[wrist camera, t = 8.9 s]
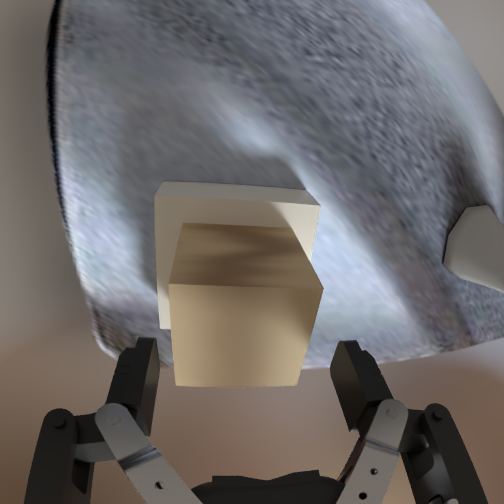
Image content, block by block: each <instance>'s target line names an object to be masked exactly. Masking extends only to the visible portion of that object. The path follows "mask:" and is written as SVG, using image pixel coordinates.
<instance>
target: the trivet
mask: <svg viewBox="0 0 504 504" xmlns="http://www.w3.org/2000/svg"><path fill="white" fill-rule="evenodd" d="M320 208H321V205H320V204H319V203H318V202H317V201H316V200H315V198H314V197H313V196H312V195H311V194H310V193H309V192H308V191H307V190H300V189H289V188H277V187H265V186H251V185H237V184H220V183H201V182H176V181H163V182H162V184H161V185H160V187H159V189H158V190H157V192H156V193H155V195H154V225H155V256H156V277H157V293H158V307H159V319H160V329H171V323H170V306H169V287H168V283H169V279H170V274H171V270H172V265H173V261H174V257H175V252H176V248H177V244H178V240H179V236H180V232H181V228H182V224H183V223H201V224H223V225H243V226H262V227H279V228H292V229H293V231H294V233H295V235H296V237H297V238H298V240H299V242H300V244H301V246H302V248H303V250H304V252H305V253H306V255H307V257H308V259H309V261H310V259H311V254H312V249H313V244H314V239H315V234H316V229H317V224H318V219H319V214H320Z"/></svg>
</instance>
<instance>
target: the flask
mask: <svg viewBox="0 0 504 504" xmlns="http://www.w3.org/2000/svg"><path fill="white" fill-rule="evenodd" d="M443 266H444V267H446V268H447V269H448V270H450V271H451V272H452V273H453V274H455V275H456V276H457V277H459V278H462V279H465V280H468V281H471V282H474V283H478V284H481V285H484V286H487V287H490V288H492V289H495V290H498V291H501V292H503V293H504V225H503V224H502V222H501V221H500V220H499V218H498V217H497V216H496V215H495V213H494V212H493V211H492V210H491V208H490V207H489V206H488V205H483V206H475V207H468V208H466V209H465V211H464V212H463V214H462V215H461V217H460V218H459V220H458V222H457V223H456V225H455V226H454V228H453V229H452V231H451V232H450V234H449V235H448V241H447V247H446V253H445V258H444V264H443Z"/></svg>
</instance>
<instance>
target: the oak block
mask: <svg viewBox="0 0 504 504" xmlns="http://www.w3.org/2000/svg"><path fill="white" fill-rule="evenodd" d="M168 287H169V306H170V323H171V337H172V349H173V361H174V371H175V380H176V386H197V387H272V386H292V385H293V386H294V385H296V384H297V381H298V378H299V375H300V371H301V368H302V365H303V361H304V358H305V355H306V351H307V348H308V344H309V341H310V337H311V334H312V330H313V326H314V323H315V319H316V315H317V312H318V308H319V304H320V300H321V296H322V293H323V289H324V288H323V286H322V284H321V282H320V280H319V278H318V276H317V274H316V273H315V271H314V269H313V267H312V265H311V263H310V261H309V259H308V257H307V255H306V253H305V252H304V250H303V248H302V246H301V244H300V242H299V240H298V238H297V237H296V235H295V233H294V231H293V229H292V228H279V227H262V226H243V225H223V224H201V223H183V224H182V228H181V232H180V236H179V240H178V244H177V248H176V252H175V257H174V261H173V265H172V270H171V274H170V279H169V283H168Z"/></svg>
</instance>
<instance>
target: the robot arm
mask: <svg viewBox="0 0 504 504" xmlns="http://www.w3.org/2000/svg"><path fill="white" fill-rule="evenodd" d="M114 373H115V374H114V376H113V379H112V382H111V386H110V389H109V393H108V397H107V400H106V403H105V405H103V406H102V407H100V408H99V409H98V410H97V412H95V413H92V414H87V415H80V416H73V414H72V413H71V412H70V411H68V410H66V409H61V408H59V409H54V410H52V411H50V412H48V414H47V415H46V416H45V418H44V420H43V423H42V427H41V430H40V434H39V438H38V441H37V446H36V449H35V453H34V457H33V462H32V466H31V470H30V474H29V479H28V484H27V489H26V494H25V500H24V504H90V499H91V489H92V480H93V472H94V465H95V462H99V461H107V460H115V459H116V460H117V462H118V464H119V465H120V467H121V468H122V470H123V472H124V473H125V475H126V476H127V478H128V479H129V481H130V482H131V484H132V485H133V487H134V488H135V489H136V491H137V492H138V494H139V495H140V497H141V498H142V499H143V501H144V502H145V504H381V503H382V501H383V498H384V495H385V493H386V491H387V488H388V486H389V483H390V480H391V478H392V475H393V473H394V470H395V467H396V464H397V462H398V458H399V455H400V454H401V457H402V460H403V463H404V466H405V469H406V472H407V476H408V479H409V482H410V485H411V489H412V492H413V496H414V499H415V502H416V504H488V502H487V499H486V496H485V494H484V491H483V488H482V486H481V483H480V481H479V478H478V476H477V473H476V471H475V468H474V466H473V463H472V461H471V459H470V456H469V454H468V452H467V450H466V447H465V445H464V443H463V440H462V438H461V436H460V434H459V432H458V429H457V427H456V425H455V423H454V421H453V419H452V417H451V415H450V412H449V411H448V410H447V408H445V407H444V406H443V405H440V404H437V403H433V404H430V405H428V406H427V407H426V409H425V410H424V411H423V410H411V409H407V407H406V406H405V405H404V404H403V403H402V402H400V401H398V400H395V399H394V398H393V396H392V394H391V392H390V390H389V388H388V386H387V384H386V382H385V380H384V378H383V376H382V375H381V371H380V369H379V368H378V365H377V363H376V361H375V359H374V357H372V356H371V355H370V354H369V353H368V352H367V351H366V350H364V351H362V350H361V348H360V346H359V344H358V342H357V341H356V340H347V341H339V343H338V345H337V348H336V351H335V354H334V356H333V359H332V362H331V366H330V374H331V378H332V381H333V384H334V387H335V390H336V393H337V395H338V399H339V402H340V405H341V408H342V410H343V414H344V417H345V419H346V423H347V425H348V429H349V432H356V431H358V432H359V434H360V437H359V438H358V440H357V442H356V444H355V446H354V448H353V451H352V452H351V454H350V456H349V458H348V460H347V462H346V464H345V466H344V468H343V470H342V471H341V473H340V475H339V476H338V478H337V479H336V480H335V479H333V478H329V477H325V476H320V474H319V470H312V471H304V472H295V473H291V474H288V475H285V476H282V477H279V478H275V479H272V480H259V479H253V478H248V477H243V476H212V482H207V483H204V484H201V485H198V486H196V487H194V488H192V489H191V490H190V489H189V488H188V486H187V485H186V484H185V483H184V482H183V481H182V479H181V478H180V477H179V476H178V475H177V473H176V472H175V471H174V470H173V469H172V467H171V466H170V464H169V463H168V462H167V461H166V460H165V458H164V457H163V455H162V454H161V453H160V452H159V451H158V450H157V449H156V448H154V447H152V445H151V443H150V442H149V441H148V439H147V438H146V436H150V434H151V426H152V419H153V413H154V406H155V399H156V393H157V386H158V380H159V373H160V362H159V355H158V348H157V341H156V338H150V337H138V340H137V343H136V347H135V348H126V349H125V350H124V351H123V352H122V353H121V354H120V356H119V359H118V362H117V367H116V369H115V372H114Z"/></svg>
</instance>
